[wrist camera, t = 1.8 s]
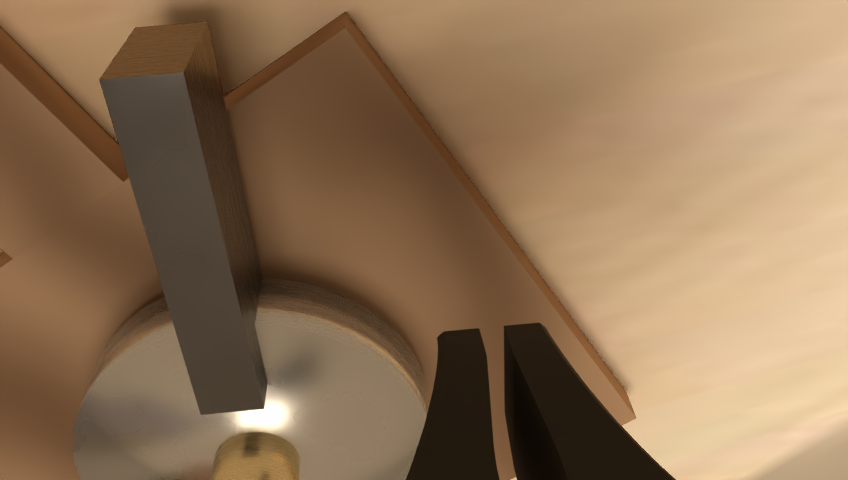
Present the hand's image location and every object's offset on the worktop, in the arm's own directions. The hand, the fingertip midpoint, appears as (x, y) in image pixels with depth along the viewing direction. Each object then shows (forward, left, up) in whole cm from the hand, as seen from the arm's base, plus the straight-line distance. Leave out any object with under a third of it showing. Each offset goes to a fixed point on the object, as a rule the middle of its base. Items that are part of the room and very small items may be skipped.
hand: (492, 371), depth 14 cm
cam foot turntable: (-7, -1, -8) cm, 11 cm away
